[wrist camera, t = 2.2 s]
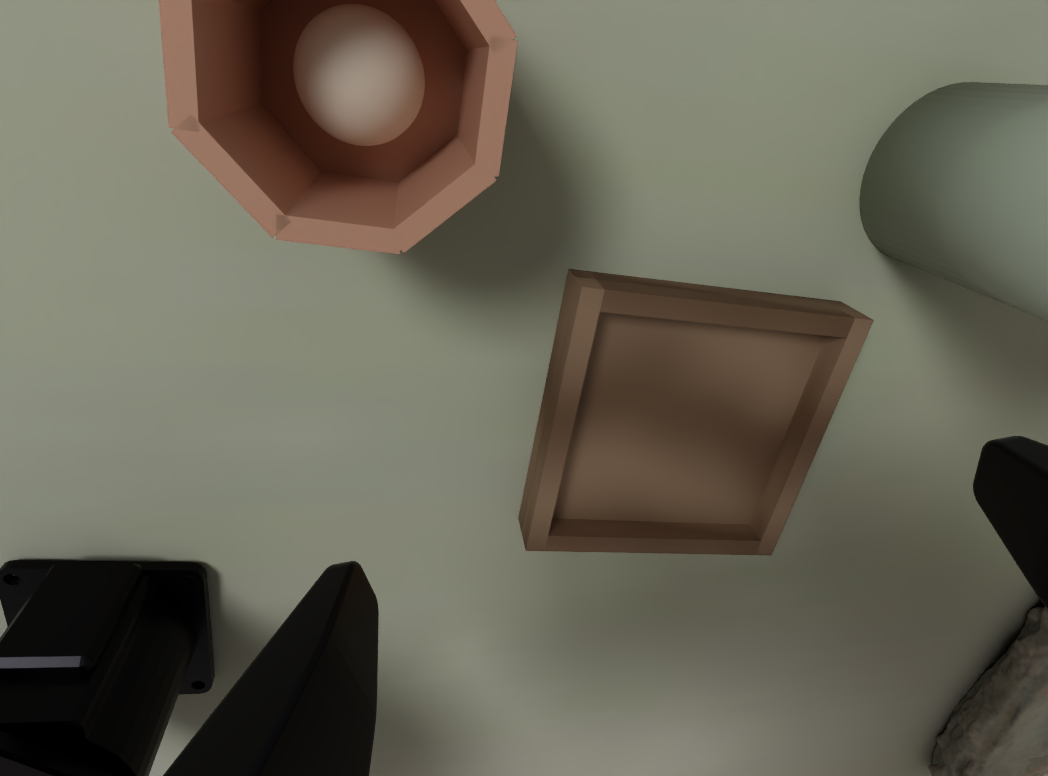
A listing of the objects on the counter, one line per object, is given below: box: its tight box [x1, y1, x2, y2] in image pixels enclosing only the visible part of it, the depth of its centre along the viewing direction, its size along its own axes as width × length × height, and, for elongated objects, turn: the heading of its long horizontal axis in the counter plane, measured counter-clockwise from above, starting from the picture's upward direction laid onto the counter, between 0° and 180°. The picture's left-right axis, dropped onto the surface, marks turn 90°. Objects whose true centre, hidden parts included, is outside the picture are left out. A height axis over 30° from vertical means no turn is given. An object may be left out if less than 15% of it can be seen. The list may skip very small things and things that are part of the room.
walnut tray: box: [519, 269, 874, 555], centre depth 22 cm, size 10×10×2 cm
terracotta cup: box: [159, 0, 518, 254], centre depth 14 cm, size 6×6×6 cm
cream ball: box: [293, 4, 425, 146], centre depth 15 cm, size 3×3×3 cm
